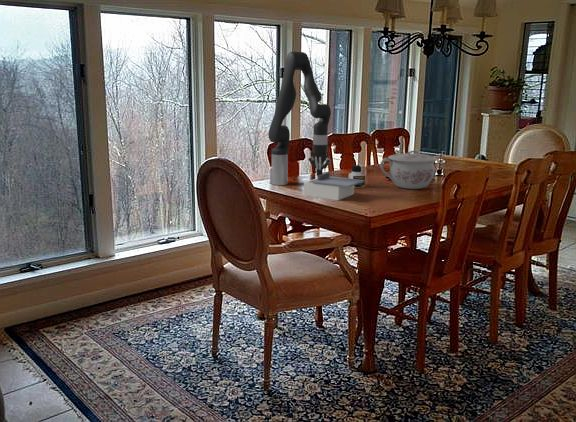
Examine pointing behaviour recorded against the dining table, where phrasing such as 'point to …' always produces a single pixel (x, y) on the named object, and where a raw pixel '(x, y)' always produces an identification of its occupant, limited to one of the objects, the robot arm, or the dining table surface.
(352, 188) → the box
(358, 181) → the lid
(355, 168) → the medicine bottle
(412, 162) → the chamber pot
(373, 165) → the dining table surface
